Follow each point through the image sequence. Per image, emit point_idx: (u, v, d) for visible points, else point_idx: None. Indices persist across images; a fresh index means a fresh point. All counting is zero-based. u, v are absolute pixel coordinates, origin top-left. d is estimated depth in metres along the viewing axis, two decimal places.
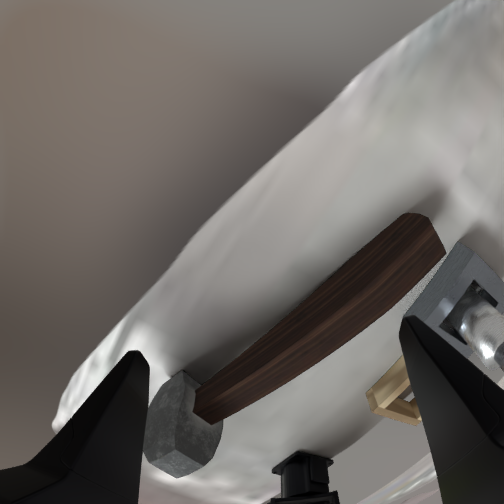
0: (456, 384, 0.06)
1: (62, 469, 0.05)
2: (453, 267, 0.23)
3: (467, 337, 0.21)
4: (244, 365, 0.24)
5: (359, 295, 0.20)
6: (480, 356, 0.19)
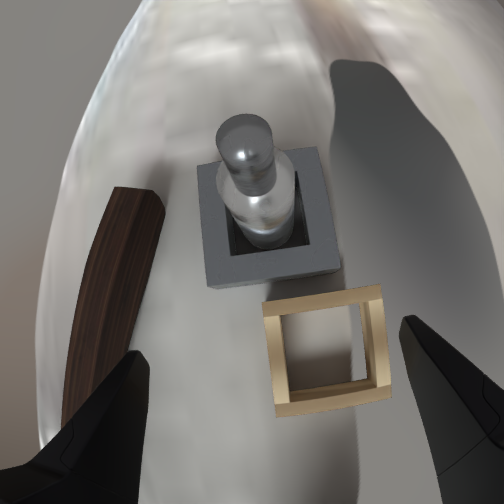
0: (456, 384, 0.06)
1: (62, 469, 0.05)
2: None
3: (241, 225, 0.19)
4: None
5: (84, 278, 0.20)
6: (240, 216, 0.16)
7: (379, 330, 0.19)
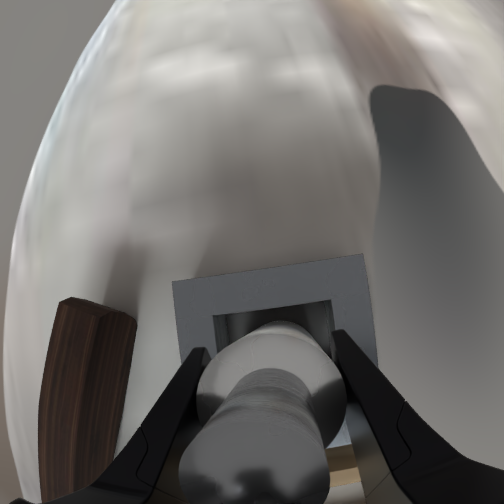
0: (367, 409, 0.06)
1: (142, 488, 0.05)
2: None
3: None
4: None
5: (40, 427, 0.12)
6: None
7: None
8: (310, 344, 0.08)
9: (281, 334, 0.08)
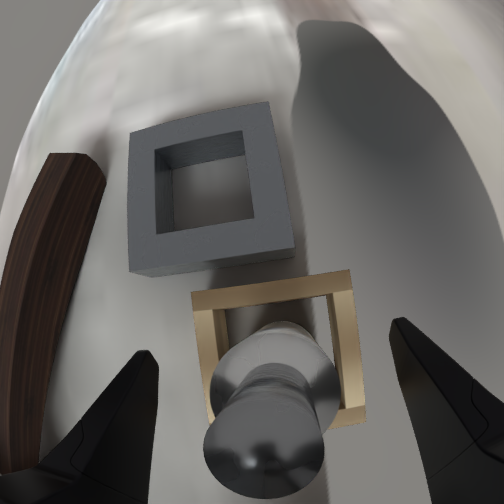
0: (444, 388, 0.06)
1: (72, 472, 0.05)
2: None
3: None
4: None
5: (9, 252, 0.15)
6: None
7: (348, 332, 0.14)
8: (309, 342, 0.09)
9: (283, 333, 0.09)
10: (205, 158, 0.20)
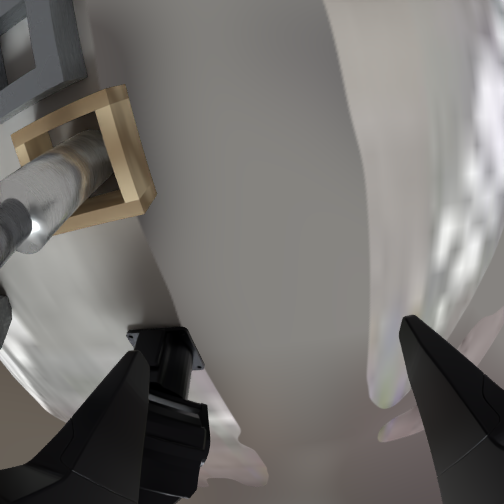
0: (456, 384, 0.06)
1: (62, 469, 0.05)
2: None
3: None
4: None
5: None
6: None
7: (112, 140, 0.15)
8: (19, 182, 0.10)
9: (7, 179, 0.10)
10: (17, 20, 0.12)
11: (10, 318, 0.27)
